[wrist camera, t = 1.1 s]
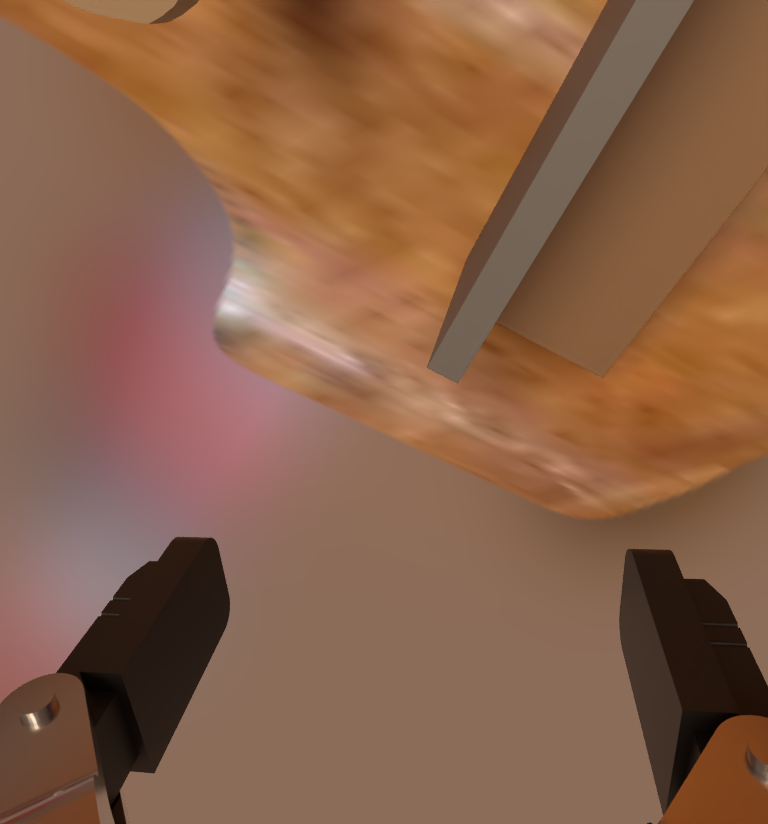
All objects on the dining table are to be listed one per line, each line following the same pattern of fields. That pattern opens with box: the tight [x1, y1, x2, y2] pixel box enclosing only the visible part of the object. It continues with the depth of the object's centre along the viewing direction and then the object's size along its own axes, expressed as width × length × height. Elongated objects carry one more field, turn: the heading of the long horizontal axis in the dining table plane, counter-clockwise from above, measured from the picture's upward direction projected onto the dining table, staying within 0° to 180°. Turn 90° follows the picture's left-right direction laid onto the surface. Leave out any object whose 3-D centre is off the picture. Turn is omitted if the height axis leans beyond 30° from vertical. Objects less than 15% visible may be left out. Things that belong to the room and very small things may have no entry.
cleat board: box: [427, 0, 768, 383], centre depth 22 cm, size 16×7×11 cm, turn 157°
